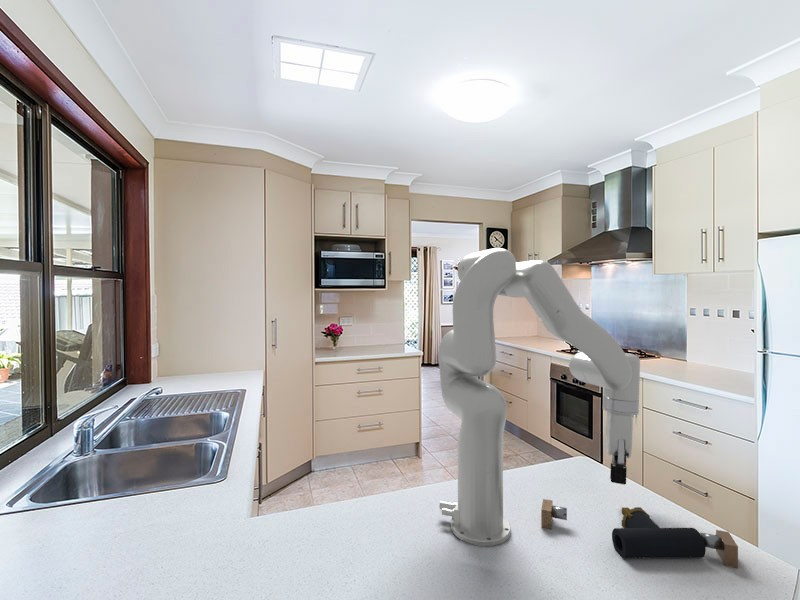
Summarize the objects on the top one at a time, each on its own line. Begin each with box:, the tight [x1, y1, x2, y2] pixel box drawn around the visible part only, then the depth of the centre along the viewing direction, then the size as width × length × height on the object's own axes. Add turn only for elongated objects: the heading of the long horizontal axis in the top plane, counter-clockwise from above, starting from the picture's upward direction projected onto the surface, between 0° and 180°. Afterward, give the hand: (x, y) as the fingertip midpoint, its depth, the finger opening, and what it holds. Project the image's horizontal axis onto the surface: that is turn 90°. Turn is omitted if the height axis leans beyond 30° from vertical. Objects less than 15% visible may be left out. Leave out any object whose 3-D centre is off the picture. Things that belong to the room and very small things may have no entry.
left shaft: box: [540, 498, 568, 531], centre depth 90 cm, size 5×5×4 cm
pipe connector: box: [611, 506, 707, 559], centre depth 83 cm, size 12×5×15 cm
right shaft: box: [699, 529, 739, 569], centre depth 78 cm, size 5×5×4 cm
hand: (618, 482), depth 98 cm, fingers closed
